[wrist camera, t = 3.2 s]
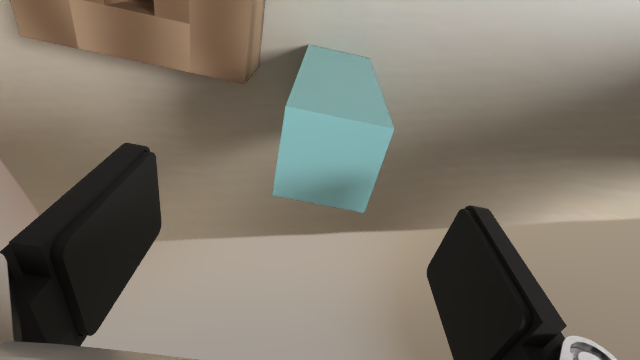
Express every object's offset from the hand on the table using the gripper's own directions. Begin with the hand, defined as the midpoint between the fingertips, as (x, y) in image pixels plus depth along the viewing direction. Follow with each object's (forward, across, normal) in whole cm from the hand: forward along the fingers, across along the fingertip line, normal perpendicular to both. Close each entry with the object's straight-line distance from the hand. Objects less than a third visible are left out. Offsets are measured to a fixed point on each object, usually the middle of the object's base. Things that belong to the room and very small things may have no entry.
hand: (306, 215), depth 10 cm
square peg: (+14, -1, 0) cm, 14 cm away
